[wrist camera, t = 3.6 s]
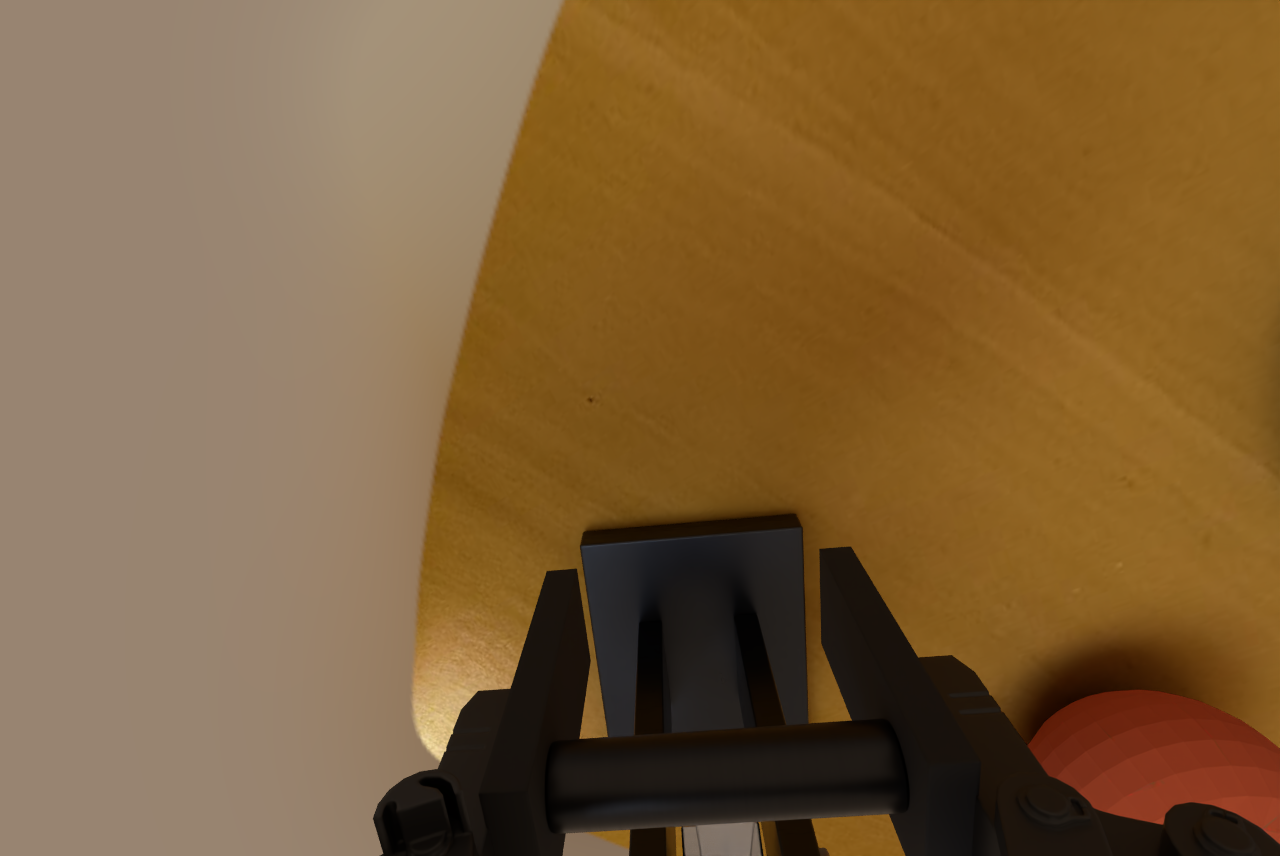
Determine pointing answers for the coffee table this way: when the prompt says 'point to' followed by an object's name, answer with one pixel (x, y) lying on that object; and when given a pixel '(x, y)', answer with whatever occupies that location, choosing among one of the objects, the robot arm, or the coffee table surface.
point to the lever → (725, 781)
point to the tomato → (1161, 757)
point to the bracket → (701, 639)
